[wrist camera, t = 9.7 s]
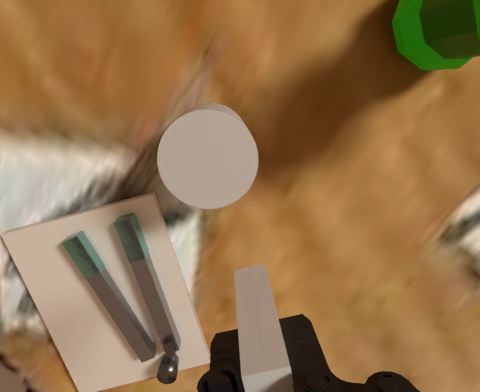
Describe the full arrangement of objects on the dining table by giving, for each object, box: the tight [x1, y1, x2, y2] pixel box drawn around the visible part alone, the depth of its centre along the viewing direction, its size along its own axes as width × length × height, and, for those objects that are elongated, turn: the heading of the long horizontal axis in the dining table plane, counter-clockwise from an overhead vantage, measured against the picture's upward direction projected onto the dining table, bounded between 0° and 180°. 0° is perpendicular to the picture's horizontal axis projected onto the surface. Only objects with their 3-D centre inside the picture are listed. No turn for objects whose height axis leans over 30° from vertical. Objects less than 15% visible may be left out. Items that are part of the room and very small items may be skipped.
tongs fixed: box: [114, 213, 181, 384], centre depth 44 cm, size 22×4×4 cm, turn 15°
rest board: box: [1, 192, 211, 392], centre depth 45 cm, size 24×18×1 cm
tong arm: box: [62, 230, 157, 363], centre depth 43 cm, size 18×2×2 cm, turn 24°
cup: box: [157, 103, 258, 209], centre depth 35 cm, size 8×8×12 cm
